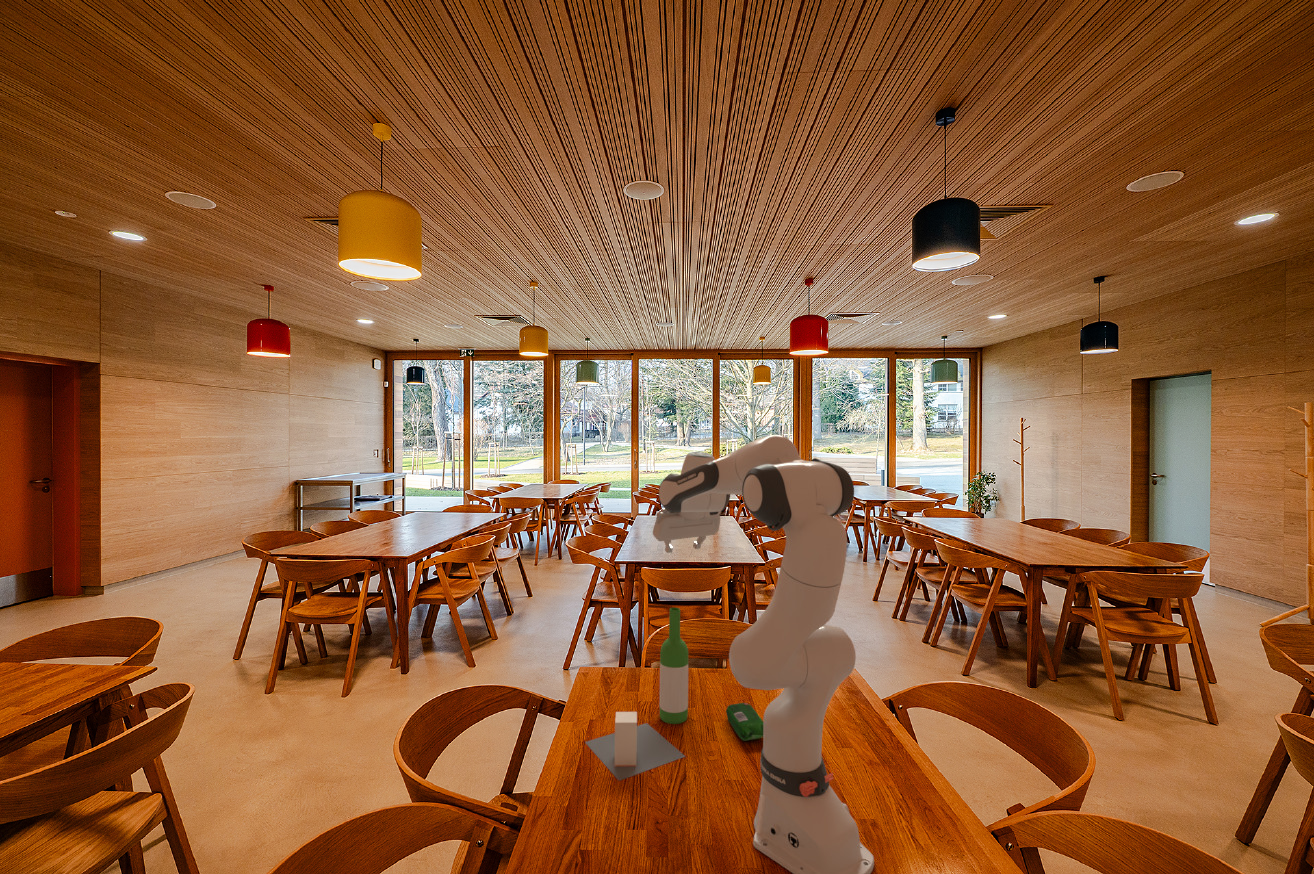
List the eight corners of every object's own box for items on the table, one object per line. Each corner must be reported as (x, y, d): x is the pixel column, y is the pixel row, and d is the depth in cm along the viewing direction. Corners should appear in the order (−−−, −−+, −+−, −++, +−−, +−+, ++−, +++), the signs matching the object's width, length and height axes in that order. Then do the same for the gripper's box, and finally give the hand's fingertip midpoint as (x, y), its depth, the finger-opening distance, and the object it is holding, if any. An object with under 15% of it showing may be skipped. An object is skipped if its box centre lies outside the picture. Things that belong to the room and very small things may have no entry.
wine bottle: (656, 724, 143) (657, 611, 143) (662, 710, 150) (664, 603, 151) (684, 728, 141) (686, 614, 142) (690, 714, 148) (691, 605, 149)
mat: (685, 758, 127) (685, 756, 127) (618, 783, 117) (618, 780, 117) (646, 725, 142) (646, 723, 142) (584, 744, 133) (584, 742, 133)
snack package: (742, 750, 131) (743, 728, 131) (723, 718, 147) (723, 699, 147) (770, 747, 133) (770, 726, 133) (747, 716, 148) (748, 697, 148)
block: (636, 766, 123) (636, 722, 123) (614, 766, 122) (615, 722, 123) (636, 754, 128) (636, 711, 128) (615, 754, 127) (616, 711, 128)
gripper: (663, 514, 141) (655, 560, 146) (726, 508, 151) (717, 551, 155) (653, 504, 147) (645, 548, 151) (714, 499, 156) (706, 540, 160)
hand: (682, 549), depth 153 cm, fingers open, 8 cm apart
